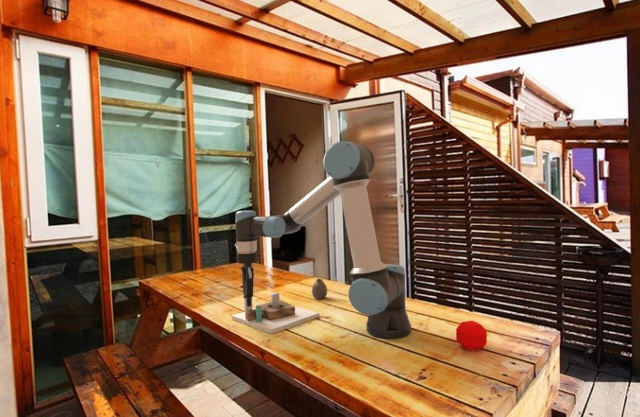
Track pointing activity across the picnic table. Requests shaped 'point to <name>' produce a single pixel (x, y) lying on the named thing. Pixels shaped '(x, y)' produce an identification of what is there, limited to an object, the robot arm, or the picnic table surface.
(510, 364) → the picnic table surface
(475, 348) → the ball
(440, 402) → the picnic table surface
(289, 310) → the collar
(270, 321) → the base
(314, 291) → the avocado
